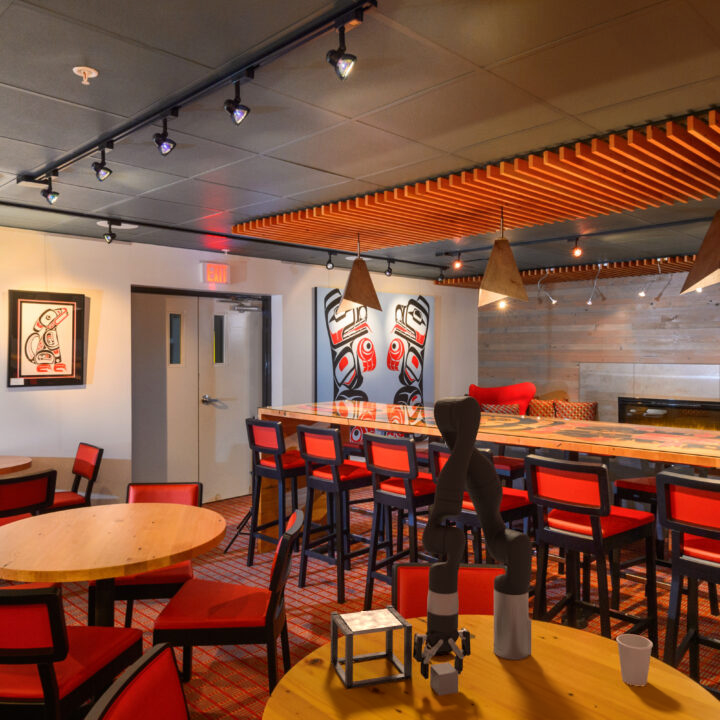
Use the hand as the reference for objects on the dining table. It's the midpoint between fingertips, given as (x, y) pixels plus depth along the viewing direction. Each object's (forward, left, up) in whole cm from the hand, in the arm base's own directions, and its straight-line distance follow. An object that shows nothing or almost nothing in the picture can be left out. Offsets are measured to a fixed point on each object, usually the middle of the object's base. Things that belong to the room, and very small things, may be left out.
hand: (441, 675), depth 153 cm
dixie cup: (-48, +11, -3) cm, 49 cm away
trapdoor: (+13, -14, +9) cm, 21 cm away
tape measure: (-9, -19, -4) cm, 21 cm away
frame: (+13, -14, -3) cm, 20 cm away
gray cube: (-1, 0, -3) cm, 3 cm away
